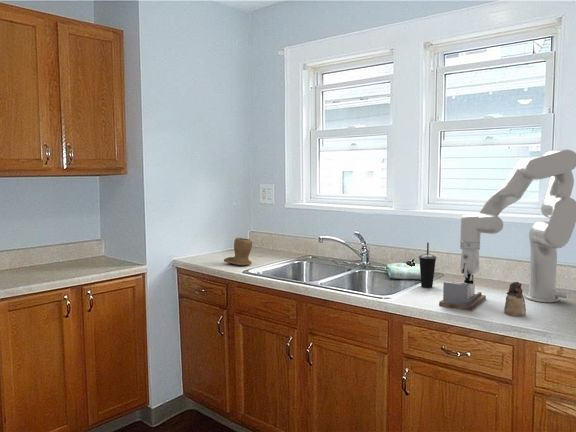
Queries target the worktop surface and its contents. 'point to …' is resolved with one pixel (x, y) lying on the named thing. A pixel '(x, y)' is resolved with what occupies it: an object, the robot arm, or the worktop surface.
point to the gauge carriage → (471, 289)
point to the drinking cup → (427, 268)
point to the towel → (404, 271)
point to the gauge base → (473, 302)
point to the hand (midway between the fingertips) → (468, 289)
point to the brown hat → (241, 252)
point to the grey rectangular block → (456, 293)
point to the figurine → (515, 301)
